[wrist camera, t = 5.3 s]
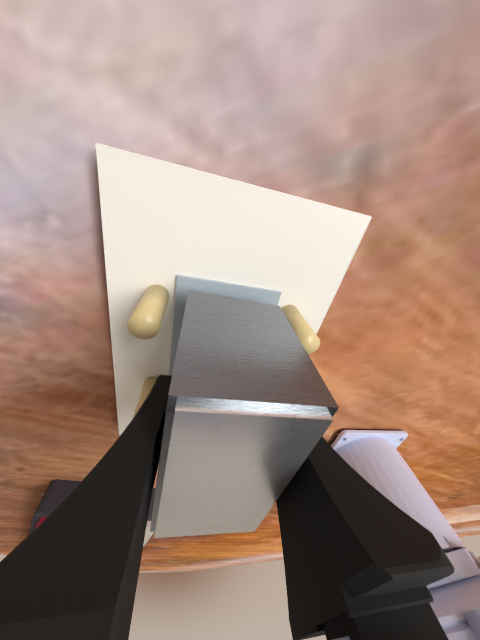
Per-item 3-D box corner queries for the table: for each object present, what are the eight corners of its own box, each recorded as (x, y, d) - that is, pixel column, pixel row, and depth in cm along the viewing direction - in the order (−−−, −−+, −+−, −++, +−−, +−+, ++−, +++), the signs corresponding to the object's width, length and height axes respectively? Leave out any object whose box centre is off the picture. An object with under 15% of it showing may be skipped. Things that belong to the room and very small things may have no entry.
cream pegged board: (265, 425, 20) (276, 474, 17) (123, 423, 18) (103, 479, 14) (360, 214, 12) (423, 227, 8) (105, 146, 9) (44, 124, 6)
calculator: (163, 528, 22) (121, 585, 27) (169, 479, 25) (130, 538, 31) (27, 525, 18) (9, 592, 23) (57, 468, 21) (36, 537, 27)
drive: (240, 409, 15) (257, 532, 10) (171, 405, 14) (148, 540, 9) (279, 306, 11) (343, 415, 6) (188, 289, 10) (166, 404, 5)
